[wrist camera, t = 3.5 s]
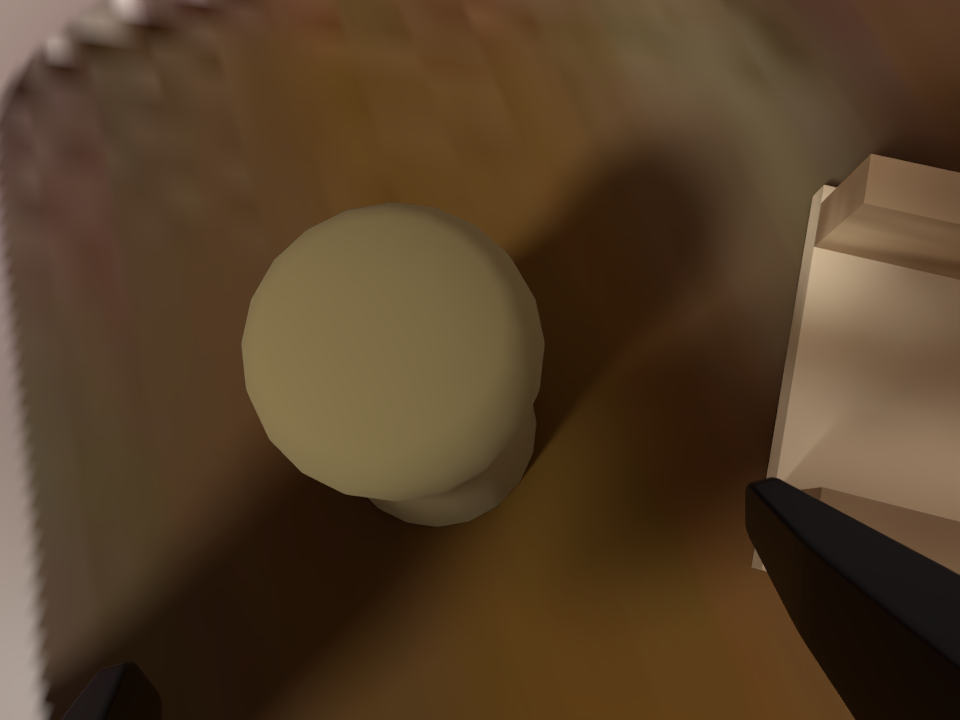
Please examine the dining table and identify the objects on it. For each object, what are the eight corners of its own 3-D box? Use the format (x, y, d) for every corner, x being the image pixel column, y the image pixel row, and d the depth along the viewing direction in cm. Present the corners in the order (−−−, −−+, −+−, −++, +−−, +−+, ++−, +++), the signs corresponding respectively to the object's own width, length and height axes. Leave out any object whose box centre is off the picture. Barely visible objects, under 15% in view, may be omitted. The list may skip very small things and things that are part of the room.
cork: (375, 307, 22) (265, 106, 12) (559, 360, 22) (622, 198, 11) (310, 493, 21) (121, 457, 10) (505, 553, 21) (517, 582, 10)
